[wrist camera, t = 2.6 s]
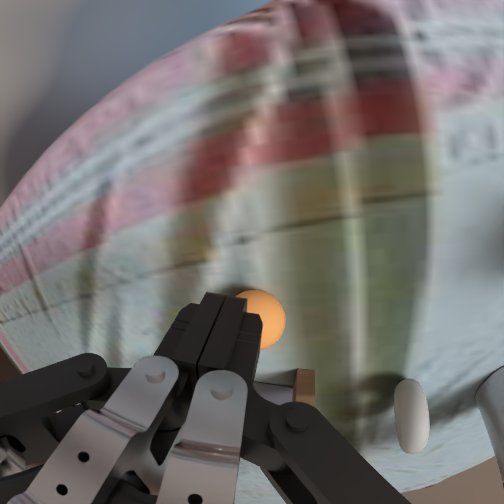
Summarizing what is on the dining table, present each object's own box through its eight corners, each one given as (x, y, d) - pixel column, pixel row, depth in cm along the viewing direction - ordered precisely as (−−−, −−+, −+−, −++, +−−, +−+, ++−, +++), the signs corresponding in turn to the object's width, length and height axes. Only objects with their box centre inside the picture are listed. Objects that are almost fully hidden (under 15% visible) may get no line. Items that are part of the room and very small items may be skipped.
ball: (290, 283, 26) (287, 318, 21) (283, 328, 29) (278, 366, 24) (232, 274, 27) (217, 308, 22) (230, 320, 29) (217, 357, 24)
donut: (389, 366, 29) (405, 435, 20) (416, 358, 28) (438, 425, 19) (391, 409, 32) (400, 468, 23) (413, 403, 31) (426, 460, 22)
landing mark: (306, 388, 32) (306, 389, 32) (288, 438, 38) (288, 439, 38) (195, 370, 34) (195, 371, 33) (201, 424, 40) (201, 425, 39)
